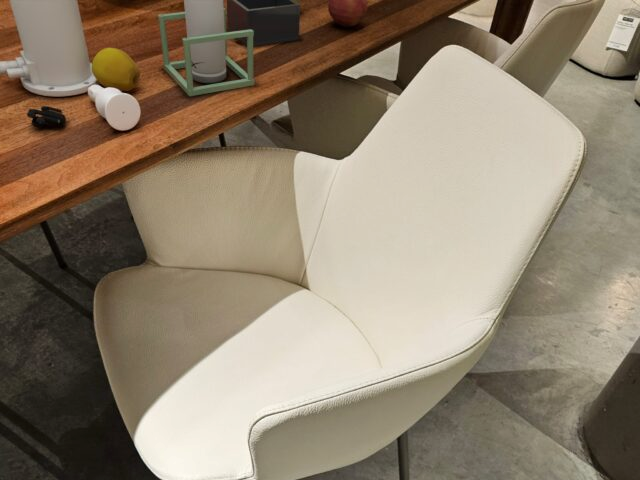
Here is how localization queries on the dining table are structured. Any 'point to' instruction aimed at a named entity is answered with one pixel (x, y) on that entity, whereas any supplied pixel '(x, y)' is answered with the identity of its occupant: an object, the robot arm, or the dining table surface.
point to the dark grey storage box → (265, 20)
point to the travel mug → (209, 56)
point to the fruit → (347, 11)
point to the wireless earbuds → (46, 117)
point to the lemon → (115, 69)
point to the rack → (171, 66)
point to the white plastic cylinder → (115, 107)
